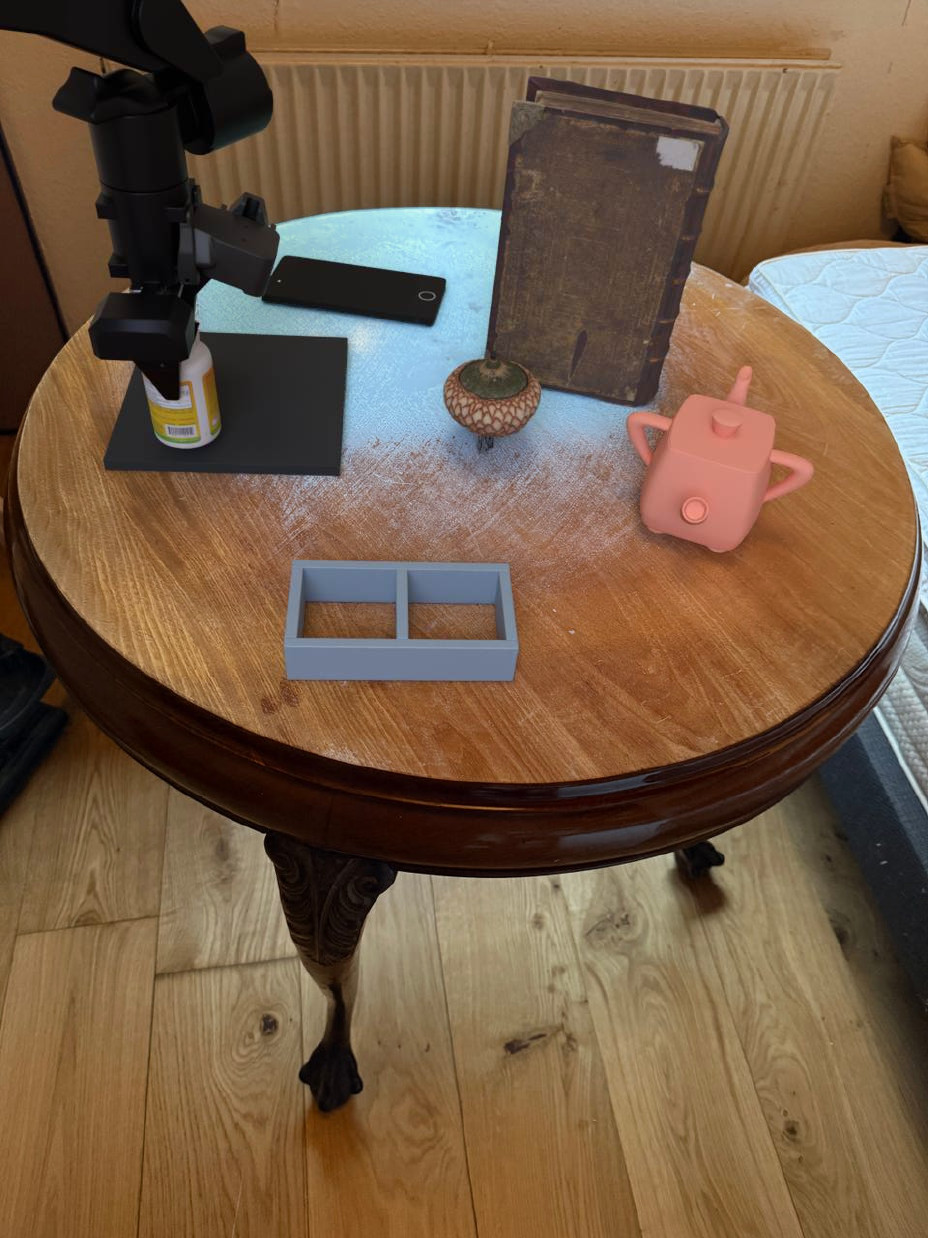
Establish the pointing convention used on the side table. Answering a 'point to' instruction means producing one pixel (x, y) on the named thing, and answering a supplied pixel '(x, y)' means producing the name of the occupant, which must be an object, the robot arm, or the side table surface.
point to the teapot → (712, 468)
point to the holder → (400, 621)
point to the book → (599, 235)
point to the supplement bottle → (188, 403)
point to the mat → (250, 410)
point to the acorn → (491, 398)
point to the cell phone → (356, 289)
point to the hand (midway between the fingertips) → (178, 378)
